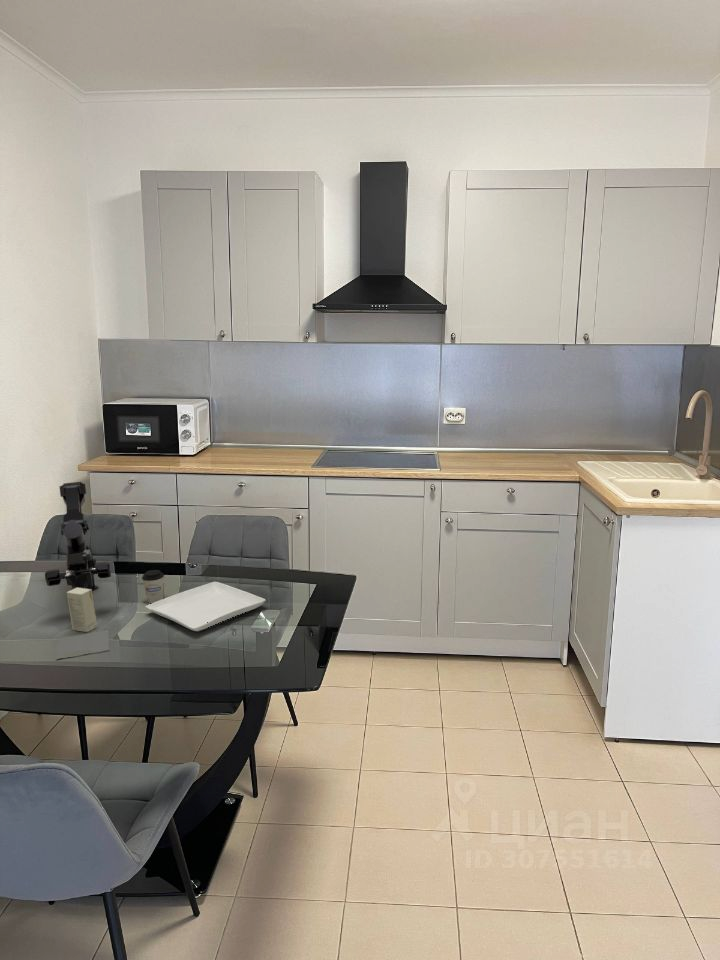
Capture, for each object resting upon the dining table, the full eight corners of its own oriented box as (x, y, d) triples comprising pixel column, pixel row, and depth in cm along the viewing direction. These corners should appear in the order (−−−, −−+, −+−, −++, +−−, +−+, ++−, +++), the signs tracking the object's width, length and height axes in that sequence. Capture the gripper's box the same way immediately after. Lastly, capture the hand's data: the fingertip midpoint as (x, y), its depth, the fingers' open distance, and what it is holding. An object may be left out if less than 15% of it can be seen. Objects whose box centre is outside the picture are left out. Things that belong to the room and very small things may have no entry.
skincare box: (98, 627, 222) (93, 589, 219) (87, 633, 218) (82, 594, 215) (82, 623, 224) (76, 586, 222) (71, 629, 221) (65, 591, 218)
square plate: (268, 609, 231) (267, 598, 230) (194, 640, 211) (193, 627, 210) (216, 589, 249) (215, 578, 248) (144, 616, 229) (143, 604, 229)
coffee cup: (148, 597, 243) (145, 568, 241) (169, 596, 243) (166, 568, 241) (141, 605, 236) (138, 576, 234) (163, 605, 236) (160, 576, 234)
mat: (58, 639, 214) (58, 638, 214) (108, 630, 219) (108, 629, 219) (56, 660, 201) (55, 659, 201) (109, 650, 206) (109, 649, 206)
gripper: (41, 545, 221) (43, 592, 214) (106, 537, 227) (111, 582, 220) (46, 562, 230) (49, 608, 223) (108, 554, 236) (113, 598, 229)
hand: (80, 598), depth 223 cm, fingers closed
